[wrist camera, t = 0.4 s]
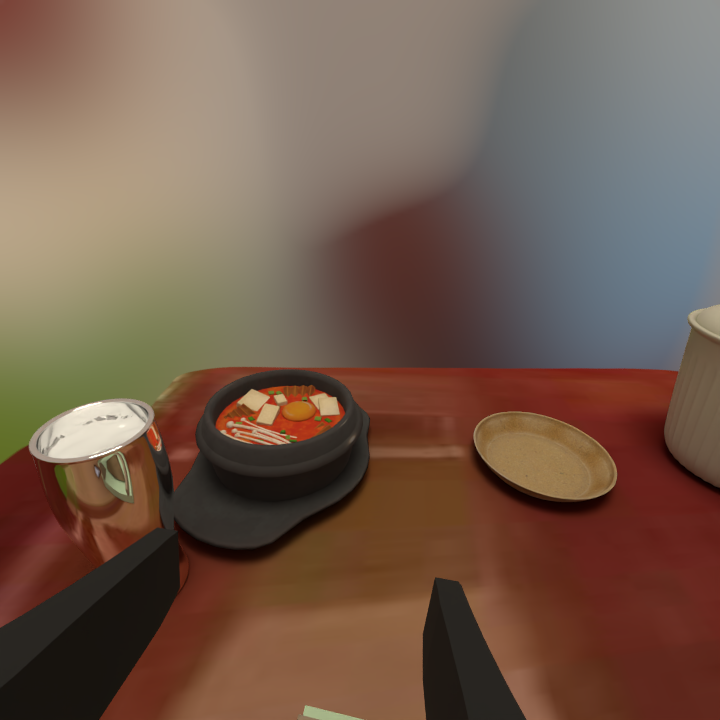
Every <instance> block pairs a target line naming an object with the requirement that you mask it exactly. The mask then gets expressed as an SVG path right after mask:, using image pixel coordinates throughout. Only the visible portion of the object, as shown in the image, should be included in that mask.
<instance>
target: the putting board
mask: <svg viewBox="0 0 720 720" xmlns="http://www.w3.org/2000/svg"><path fill="white" fill-rule="evenodd" d="M297 720H363V719H359V718H355V717H351V716H347V715H343V714H339V713H335V712H330V711H326V710H322V709H318V708H314V707H310V706H306V705H305V709H304V713H303V715H298V719H297Z"/></svg>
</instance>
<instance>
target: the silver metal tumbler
mask: <svg viewBox="0 0 720 720" xmlns="http://www.w3.org/2000/svg"><path fill="white" fill-rule="evenodd" d="M29 450H30V453H31V454H32V456H33V459H34V463H35V466H36V470H37V473H38V476H39V480H40V483H41V486H42V489H43V492H44V494H45V497H46V499H47V502H48V504H49V506H50V508H51V510H52V512H53V514H54V516H55V518H56V520H57V522H58V523H59V525H60V526H61V527H62V529H63V530H64V532H65V533H66V534H67V536H68V537H69V538H70V539H71V541H72V542H73V543H74V544H75V545H76V546H77V548H78V549H79V550H80V551H81V552H82V553H83V554H84V555H85V557H86V558H87V559H88V560H89V561H90V562H91V564H92V565H93V566H94V567H95V569H96V568H98V567H99V566H101V565H102V564H104V563H105V562H107V561H108V560H110V559H111V558H113V557H114V556H116V555H117V554H119V553H120V552H122V551H123V550H124V549H126V548H127V547H129V546H130V545H132V544H133V543H135V542H136V541H138V540H139V539H141V538H142V537H144V536H145V535H147V534H148V533H150V532H151V531H153V530H154V529H156V528H157V527H158V528H164V529H170V530H174V488H173V476H172V470H171V465H170V460H169V457H168V453H167V450H166V446H165V443H164V440H163V438H162V435H161V432H160V429H159V427H158V424H157V422H156V419H155V416H154V411H153V409H152V408H151V407H150V406H149V405H148V404H146V403H144V402H142V401H139V400H134V399H109V400H102V401H97V402H93V403H88V404H85V405H82V406H79V407H76V408H73V409H71V410H68V411H66V412H64V413H62V414H60V415H58V416H56V417H54V418H53V419H51V420H50V421H48V422H47V423H45V424H44V425H43V426H42V427H41V428H39V429H38V430H37V431H36V432H35V433H34V435H33V436H32V438H31V440H30V443H29ZM178 545H179V568H180V589H179V591H180V590H181V588H182V587H183V585H184V583H185V581H186V579H187V576H188V571H189V562H188V558H187V556H186V554H185V552H184V550H183V549H182V547H181V545H180V544H179V542H178ZM179 591H178V593H179ZM178 593H177V594H178Z"/></svg>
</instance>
